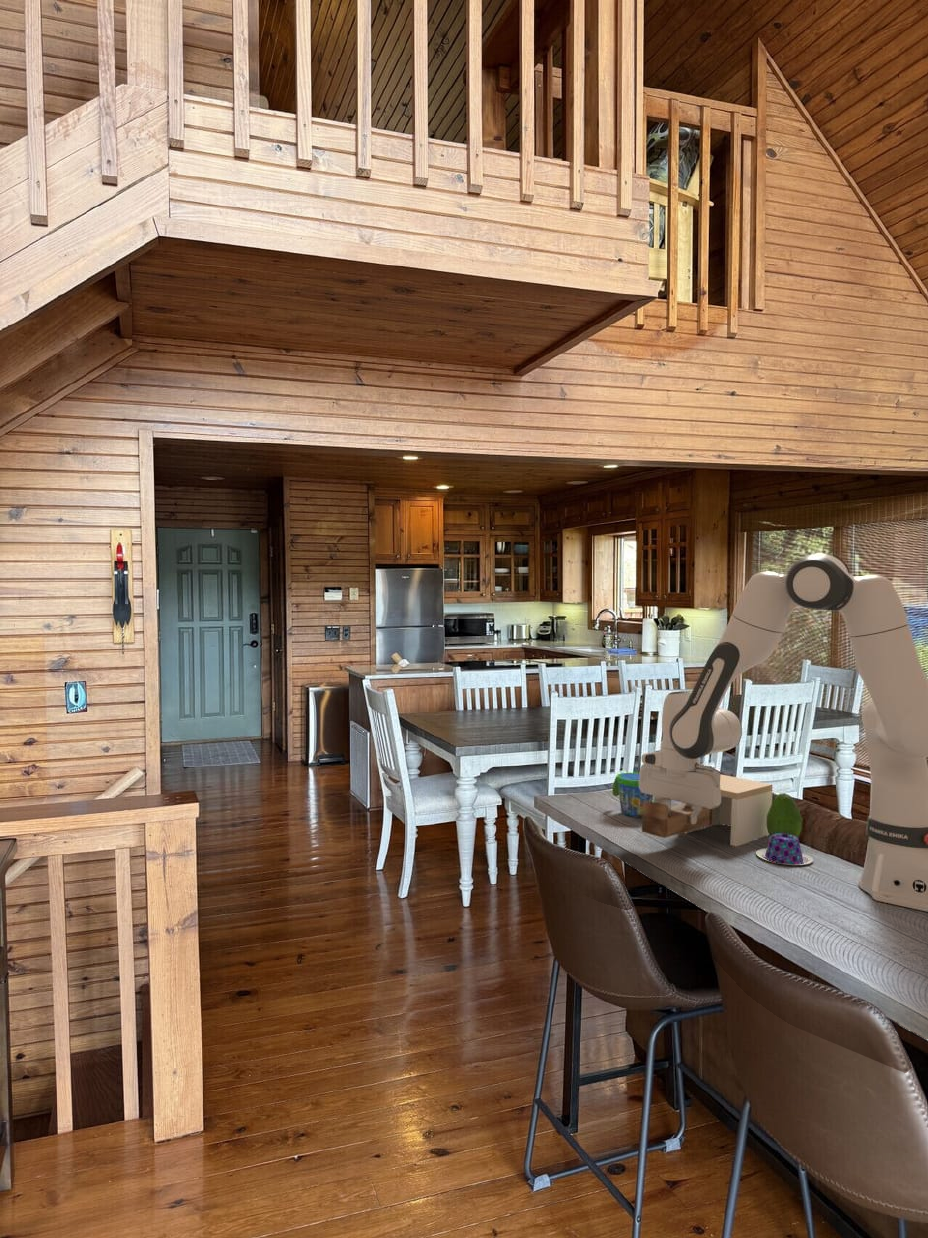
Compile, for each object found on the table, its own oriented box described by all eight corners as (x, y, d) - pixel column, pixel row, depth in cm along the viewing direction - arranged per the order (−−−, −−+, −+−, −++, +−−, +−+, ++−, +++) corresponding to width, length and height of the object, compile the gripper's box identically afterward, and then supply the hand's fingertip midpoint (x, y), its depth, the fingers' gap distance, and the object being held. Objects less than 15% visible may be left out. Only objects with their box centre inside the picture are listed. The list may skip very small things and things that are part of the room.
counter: (770, 835, 205) (772, 784, 205) (736, 846, 194) (737, 793, 194) (716, 821, 216) (718, 774, 216) (681, 832, 206) (682, 781, 205)
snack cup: (670, 819, 217) (672, 780, 217) (639, 823, 212) (640, 784, 212) (632, 805, 231) (633, 769, 231) (601, 809, 226) (602, 772, 226)
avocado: (767, 846, 195) (768, 795, 195) (764, 837, 203) (765, 788, 202) (803, 849, 193) (805, 798, 193) (799, 840, 201) (801, 791, 200)
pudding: (823, 868, 181) (824, 844, 181) (770, 868, 180) (771, 844, 179) (796, 851, 193) (797, 829, 193) (746, 851, 192) (747, 829, 191)
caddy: (711, 824, 196) (712, 792, 195) (664, 838, 183) (665, 804, 183) (689, 818, 200) (690, 787, 200) (641, 831, 187) (643, 798, 187)
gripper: (728, 766, 186) (725, 828, 186) (651, 751, 201) (649, 808, 201) (712, 769, 181) (710, 832, 182) (635, 754, 197) (633, 812, 197)
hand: (677, 819), depth 192 cm, fingers closed on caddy, 6 cm apart
